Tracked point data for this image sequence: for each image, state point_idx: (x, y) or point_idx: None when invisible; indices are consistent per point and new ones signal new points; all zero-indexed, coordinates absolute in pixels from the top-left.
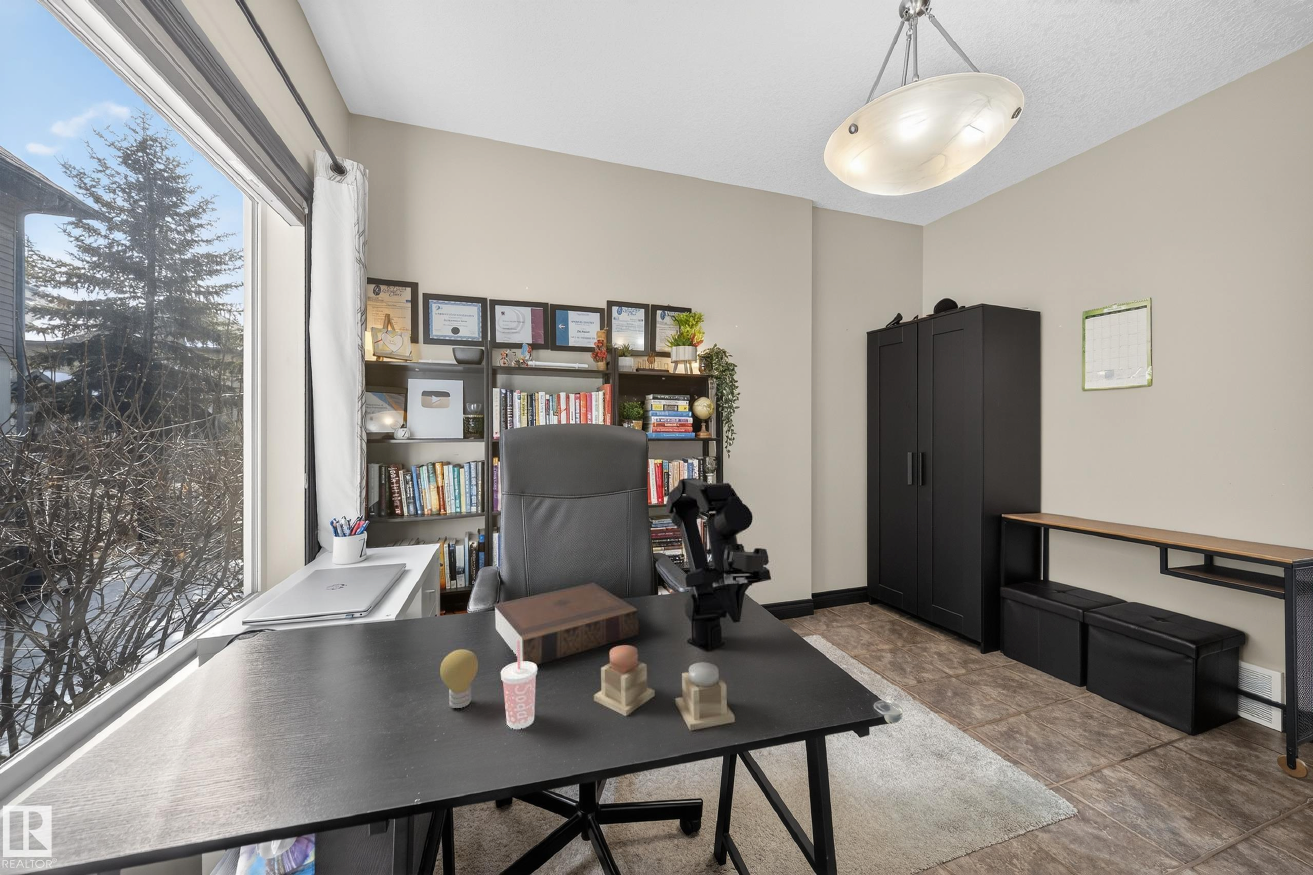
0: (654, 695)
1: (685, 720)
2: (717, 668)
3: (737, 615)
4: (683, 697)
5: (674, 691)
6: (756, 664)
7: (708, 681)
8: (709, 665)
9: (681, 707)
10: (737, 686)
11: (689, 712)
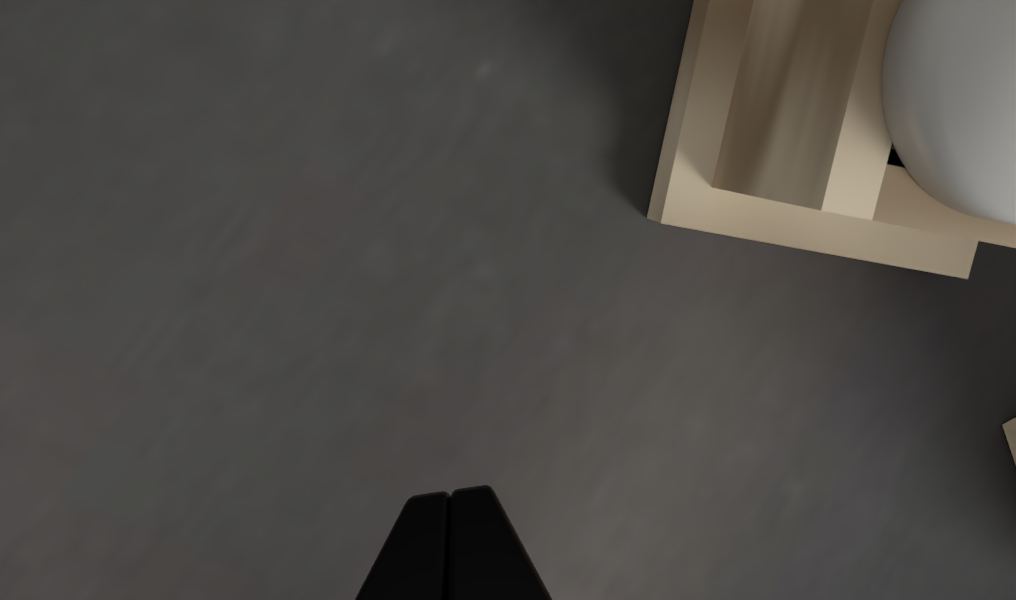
0: (1003, 424)
1: None
2: (956, 13)
3: (476, 564)
4: None
5: (865, 413)
6: (39, 496)
7: None
8: (985, 117)
9: None
10: (415, 264)
11: None
